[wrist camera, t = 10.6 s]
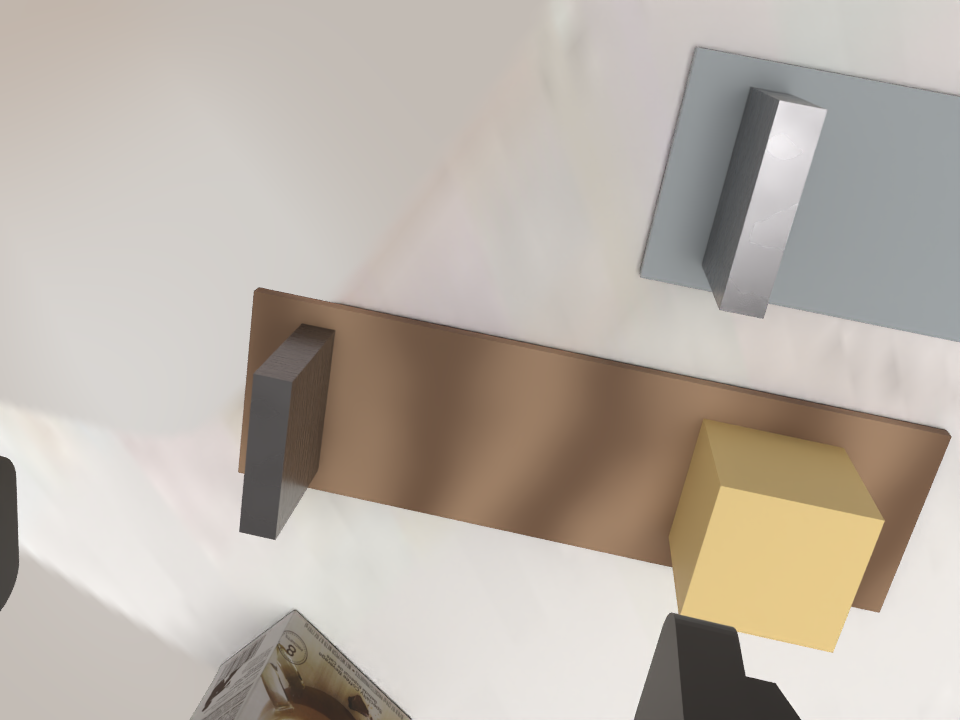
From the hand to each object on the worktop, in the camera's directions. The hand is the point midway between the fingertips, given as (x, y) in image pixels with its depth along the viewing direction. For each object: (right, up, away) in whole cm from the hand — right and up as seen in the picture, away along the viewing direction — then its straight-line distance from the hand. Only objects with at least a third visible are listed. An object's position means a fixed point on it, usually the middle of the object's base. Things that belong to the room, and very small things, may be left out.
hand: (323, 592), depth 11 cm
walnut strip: (+6, -1, +30) cm, 31 cm away
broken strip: (+22, +8, +25) cm, 34 cm away
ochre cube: (+14, -3, +29) cm, 32 cm away
